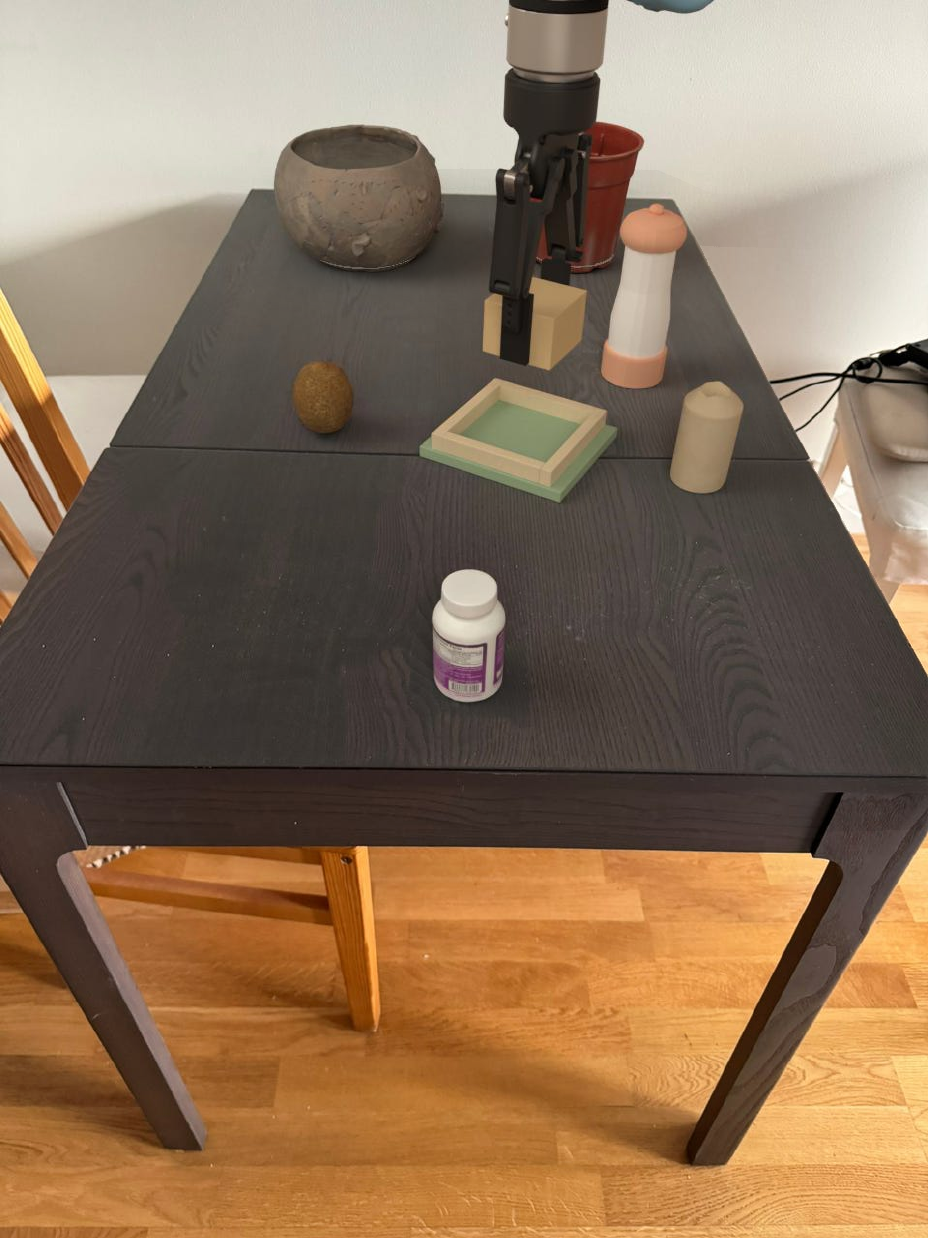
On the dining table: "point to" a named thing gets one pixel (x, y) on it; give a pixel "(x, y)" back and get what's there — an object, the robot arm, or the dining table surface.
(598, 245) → the flower pot
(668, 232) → the pepper shaker
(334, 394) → the fruit
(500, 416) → the base pad
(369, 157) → the bowl
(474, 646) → the pill bottle
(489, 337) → the tan rectangular block
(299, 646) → the dining table surface
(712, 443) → the candle
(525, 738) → the dining table surface
